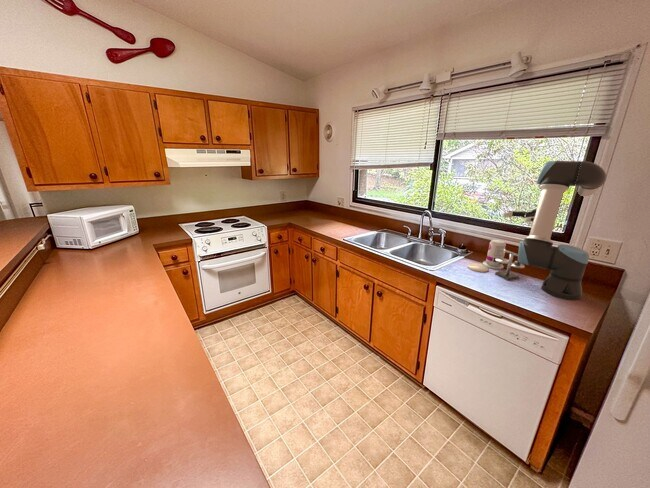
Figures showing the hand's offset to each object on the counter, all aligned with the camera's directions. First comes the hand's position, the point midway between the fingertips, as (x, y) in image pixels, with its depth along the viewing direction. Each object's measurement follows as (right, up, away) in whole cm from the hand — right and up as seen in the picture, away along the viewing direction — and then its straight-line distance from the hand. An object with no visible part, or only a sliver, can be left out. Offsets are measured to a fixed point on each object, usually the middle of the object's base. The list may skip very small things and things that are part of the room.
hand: (514, 217), depth 158 cm
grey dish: (-9, -29, +7) cm, 31 cm away
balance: (-10, -34, -8) cm, 36 cm away
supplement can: (-9, -28, +6) cm, 30 cm away
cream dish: (-20, -30, +3) cm, 37 cm away
